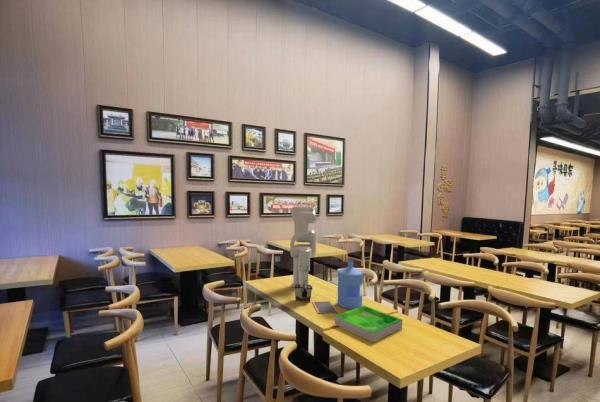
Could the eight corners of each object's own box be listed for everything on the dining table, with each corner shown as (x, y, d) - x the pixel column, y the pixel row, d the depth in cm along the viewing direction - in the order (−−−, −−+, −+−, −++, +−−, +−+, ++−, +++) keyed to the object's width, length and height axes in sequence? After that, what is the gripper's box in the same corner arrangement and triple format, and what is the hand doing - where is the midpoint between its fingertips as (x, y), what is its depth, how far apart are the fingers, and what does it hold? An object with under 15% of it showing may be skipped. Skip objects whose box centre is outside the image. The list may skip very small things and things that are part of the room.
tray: (334, 325, 163) (334, 316, 163) (363, 313, 179) (364, 305, 179) (373, 343, 144) (373, 332, 144) (402, 328, 160) (402, 319, 160)
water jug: (332, 303, 193) (333, 260, 192) (348, 298, 204) (349, 256, 203) (351, 311, 181) (352, 264, 181) (367, 305, 192) (368, 261, 191)
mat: (312, 302, 195) (312, 301, 195) (330, 301, 197) (330, 301, 197) (318, 313, 177) (318, 312, 177) (338, 312, 179) (338, 311, 179)
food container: (313, 298, 201) (313, 283, 201) (312, 302, 195) (312, 286, 195) (294, 297, 202) (294, 282, 202) (293, 301, 196) (293, 285, 196)
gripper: (296, 264, 206) (295, 290, 206) (300, 272, 188) (299, 300, 189) (307, 264, 207) (306, 290, 208) (312, 271, 190) (311, 299, 190)
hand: (303, 295), depth 198 cm, fingers closed on food container, 6 cm apart
